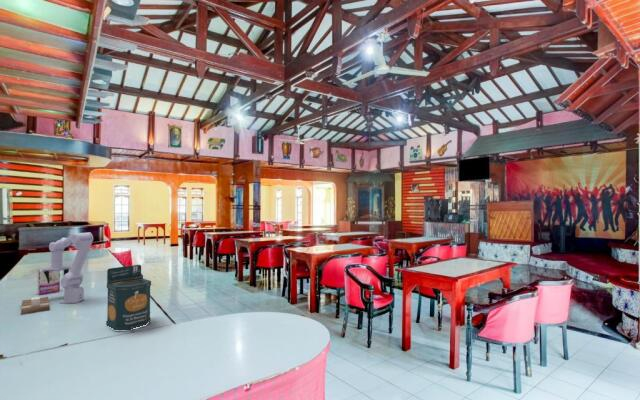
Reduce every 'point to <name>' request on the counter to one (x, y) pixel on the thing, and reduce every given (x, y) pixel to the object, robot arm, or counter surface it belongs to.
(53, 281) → the candy bar box
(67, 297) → the robot arm
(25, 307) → the socket board
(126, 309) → the donation box
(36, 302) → the plug
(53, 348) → the counter surface
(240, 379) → the counter surface
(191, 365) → the counter surface
